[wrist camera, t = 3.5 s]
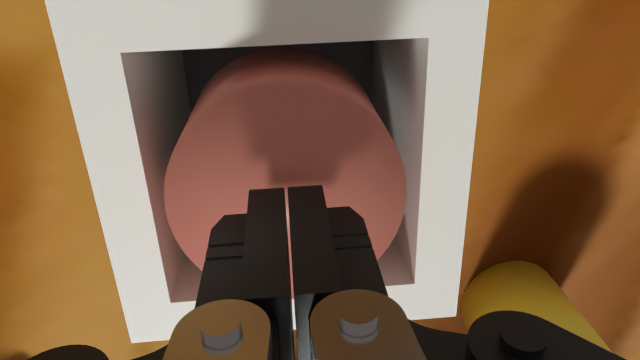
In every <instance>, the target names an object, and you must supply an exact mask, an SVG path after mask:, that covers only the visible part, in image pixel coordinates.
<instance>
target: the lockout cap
mask: <svg viewBox="0 0 640 360" xmlns="http://www.w3.org/2000/svg"><path fill="white" fill-rule="evenodd" d="M502 310H511V311H520V312H525V313H529V314H532V315H535V316H538V317H540V318H543V319H545V320H547V321H549V322H551V323H553V324H555V325H557V326H559V327H561V328H563V329H565V330H567V331H569V332H571V333H573V334H575V335H578V336H580V337H582V338H584V339H586V340H588V341H590V342H592V343H594V344H596V345H598V346H600V347H602V348H604V349H606V350H608V351H610V352H612V351H611V350H610V349H609V347H608V346H607V345H606V344H605V343H604V341H603V340H602V339H601V338H600V336H599V335H598V334H597V333H596V331H595V330H594V329H593V328H592V327H591V325H590V324H589V323H588V322H587V320H586V319H585V318H584V317H583V316H582V314H581V313H580V312H579V311H578V309H577V308H576V307H575V306H574V304H573V303H572V302H571V301H570V300H569V298H568V297H567V296H566V295H565V293H564V292H563V291H562V290H561V289H560V287H559V286H558V285H557V284H556V282H555V281H554V280H553V279H552V277H551V276H550V275H549V274H548V273H547V272H546V271H545V270H544V269H543V268H542V267H540V266H538V265H537V264H534V263H531V262H527V261H507V262H503V263H499V264H496V265H494V266H492V267H489V268H488V269H486V270H484V271H483V272H481V273H480V274H479V275H477V276H476V277H475V278H474V279H473V280H472V281H471V282H470V283H469V285H468V286H467V288H466V289H465V291H464V293H463V295H462V298H461V303H460V312H461V316H462V319H463V321H464V323H465V325H466V327H467V329H468V331H469V328H470V326H471V324H472V323H473V322H474V321H475V320H476V319H478V318H479V317H480V316H482V315H485V314H487V313H490V312H494V311H502ZM612 353H613V352H612Z"/></svg>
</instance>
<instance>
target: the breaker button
mask: <svg viewBox="0 0 640 360" xmlns="http://www.w3.org/2000/svg"><path fill="white" fill-rule="evenodd" d="M311 185H322V186H323V191H324V196H325V201H326V206H327V208H330V207H345V206H350V207H351V208H352V209H353V210H354V211H356V212H357V213H358V214H359V215H360V216H361V217H363V218H364V221H365V225H366V228H367V231H368V236H369V237H370V240H371V243H372V249H373V250H374V253H375V256H376V259H377V260H378V259H379V258H380V257H381V256H382V255H383V254H384V252H385V251H386V250H387V248H388V247H389V246H390V244H391V242H392V241H393V239H394V237H395V236H396V234H397V231H398V229H399V227H400V224H401V222H402V218H403V215H404V211H405V206H406V197H407V182H406V175H405V169H404V165H403V162H402V159H401V156H400V153H399V151H398V149H397V147H396V145H395V143H394V141H393V139H392V137H391V136H390V134H389V132H388V131H387V129H386V127H385V125H384V124H383V122H382V120H381V119H380V117H379V115H378V113H377V112H376V110H375V108H374V107H373V105H372V103H371V101H370V100H369V98H368V96H367V95H366V93H365V91H364V90H363V88H362V87H361V85H360V84H359V83H358V81H357V80H356V79H355V78H354V77H353V76H352V75H351V74H350V73H349V72H348V71H347V70H346V69H345V68H344V67H342V66H341V65H340V64H338V63H337V62H335V61H334V60H332V59H330V58H329V57H326V56H324V55H322V54H320V53H317V52H314V51H311V50H307V49H303V48H297V47H279V46H278V47H270V48H263V49H259V50H255V51H252V52H249V53H247V54H244V55H242V56H240V57H238V58H236V59H234V60H233V61H231V62H229V63H228V64H227V65H225V66H224V67H223V68H221V69H220V70H219V71H218V72H217V73H216V74H215V75H214V76H213V77H212V78H211V79H210V80H209V82H208V83H207V84H206V86H205V87H204V89H203V90H202V92H201V94H200V96H199V98H198V100H197V102H196V104H195V106H194V108H193V110H192V112H191V114H190V116H189V118H188V121H187V123H186V125H185V127H184V129H183V131H182V133H181V135H180V137H179V139H178V142H177V144H176V146H175V148H174V150H173V152H172V155H171V157H170V160H169V163H168V166H167V170H166V175H165V180H164V204H165V212H166V215H167V219H168V223H169V226H170V228H171V230H172V233H173V235H174V237H175V239H176V241H177V242H178V244H179V246H180V247H181V249H182V250H183V252H184V253H185V254H186V255H187V257H188V258H189V259H190V260H191V261H192V262H193V263H194V264H195V265H196V266H197V267H198V268H199V269H200V270H201V271H202V270H203V266H204V262H205V256H206V251H207V248H208V242H209V237H210V232H211V229H212V228H213V227H214V226H215V225H216V223H217V222H218V221H219V220H220V219H221V218H222V217H223V216H224V215H231V214H245V213H247V206H248V196H249V190H252V189H267V188H282V187H284V190H285V203H286V217H287V231H288V245H289V260H290V276H291V295H292V299H294V292H293V274H292V257H291V240H290V223H289V206H288V189H287V187H295V186H311Z"/></svg>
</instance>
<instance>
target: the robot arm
mask: <svg viewBox="0 0 640 360" xmlns="http://www.w3.org/2000/svg"><path fill="white" fill-rule="evenodd" d="M287 189H288V206H289V223H290V240H291V257H292V274H293V292H294V307H295V321H296V336H297V350H298V360H626V359H624V358H622V357H620V356H618V355H616V354H614V353H612V352H610V351H608V350H606V349H604V348H602V347H600V346H598V345H596V344H594V343H592V342H590V341H588V340H586V339H584V338H582V337H580V336H578V335H575V334H573V333H571V332H569V331H567V330H565V329H563V328H561V327H559V326H557V325H555V324H553V323H551V322H549V321H547V320H545V319H543V318H540V317H538V316H535V315H532V314H529V313H525V312H520V311H511V310H502V311H494V312H490V313H487V314H485V315H482V316H480V317H479V318H478V319H476V320H475V321H474V322H473V323H472V324H471V326H470V328H469V331H468V335H466V334H460V333H454V332H447V331H441V330H436V329H431V328H427V327H424V326H421V325H419V324H417V323H414V322H412V321H411V320H409V319H407V316H406V314H405V312H404V311H403V309H402V308H401V307H400V305H399V304H398V303H397V302H395V301H394V300H393V299H391V298H390V297H389V296H388V293H387V290H386V287H385V284H384V281H383V278H382V275H381V271H380V268H379V265H378V262H377V259H376V256H375V253H374V250H373V249H372V243H371V240H370V237H369V236H368V231H367V228H366V225H365V221H364V218H363V217H361V216H360V215H359V214H358V213H357V212H356V211H354V210H353V209H352V208H351V207H350V206H345V207H330V208H327V206H326V201H325V196H324V191H323V186H322V185H311V186H295V187H287ZM28 360H109V359H108V358H107V356H106V355H105V354H104V353H103V352H102V351H101V350H99V349H97V348H95V347H91V346H87V345H67V346H61V347H57V348H54V349H50V350H47V351H45V352H42V353H40V354H38V355H36V356H34V357H31V358H30V359H28ZM132 360H295V352H294V333H293V314H292V295H291V276H290V260H289V245H288V231H287V217H286V203H285V190H284V187H282V188H267V189H252V190H249V196H248V206H247V213H245V214H231V215H224V216H223V217H222V218H221V219H220V220H219V221H218V222H217V223H216V225H215V226H214V227H213V228H212V229H211V232H210V237H209V242H208V248H207V251H206V256H205V262H204V266H203V270H202V275H201V280H200V285H199V290H198V294H197V299H196V304H195V309H193V310H192V311H190V312H189V313H187V314H186V315H185V316H184V317H183V318H182V319H181V320H180V321H179V322H178V323H177V325H176V326H175V328H174V330H173V332H172V335H171V337H170V340H169V343H168V345H166V346H164V347H163V348H161V349H159V350H157V351H155V352H153V353H150V354H147V355H145V356H142V357H139V358H135V359H132Z"/></svg>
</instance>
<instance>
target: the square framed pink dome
mask: <svg viewBox="0 0 640 360" xmlns="http://www.w3.org/2000/svg"><path fill="white" fill-rule="evenodd" d="M45 4H46V8H47V12H48V16H49V20H50V24H51V28H52V32H53V36H54V39H55V43H56V47H57V51H58V55H59V59H60V63H61V67H62V71H63V75H64V79H65V83H66V87H67V91H68V95H69V99H70V103H71V107H72V111H73V114H74V118H75V122H76V126H77V130H78V134H79V138H80V142H81V146H82V150H83V154H84V158H85V162H86V166H87V170H88V174H89V178H90V182H91V185H92V189H93V193H94V197H95V201H96V205H97V209H98V213H99V217H100V221H101V225H102V229H103V233H104V237H105V241H106V245H107V249H108V253H109V256H110V260H111V264H112V268H113V272H114V276H115V280H116V284H117V288H118V292H119V296H120V300H121V304H122V308H123V312H124V316H125V320H126V324H127V328H128V331H129V335H130V339H131V343H137V342H149V341H162V340H170V337H171V335H172V332H173V330H174V328H175V326H176V325H177V323H178V322H179V321H180V320H181V319H182V318H183V317H184V316H185V315H186V314H187V313H189V312H190V311H192V310H193V309H195V304H196V299H197V294H198V290H199V285H200V280H201V275H202V271H201V270H200V269H199V268H198V267H197V266H196V265H195V264H194V263H193V262H192V261H191V260H190V259H189V258H188V257H187V255H186V254H185V253H184V252H183V250H182V249H181V247H180V246H179V244H178V242H177V241H176V239H175V237H174V235H173V233H172V230H171V228H170V226H169V223H168V219H167V215H166V212H165V204H164V180H165V175H166V170H167V166H168V163H169V160H170V157H171V155H172V152H173V150H174V148H175V146H176V144H177V142H178V139H179V137H180V135H181V133H182V131H183V129H184V127H185V125H186V123H187V121H188V118H189V116H190V114H191V112H192V110H193V108H194V106H195V104H196V102H197V100H198V98H199V96H200V94H201V92H202V90H203V89H204V87H205V86H206V84H207V83H208V82H209V80H210V79H211V78H212V77H213V76H214V75H215V74H216V73H217V72H218V71H219V70H220V69H221V68H223V67H224V66H225V65H227V64H228V63H229V62H231V61H233V60H234V59H236V58H238V57H240V56H242V55H244V54H247V53H249V52H252V51H255V50H259V49H263V48H270V47H278V46H279V47H297V48H303V49H307V50H311V51H314V52H317V53H320V54H322V55H324V56H326V57H329V58H330V59H332V60H334V61H335V62H337V63H338V64H340V65H341V66H342V67H344V68H345V69H346V70H347V71H348V72H349V73H350V74H351V75H352V76H353V77H354V78H355V79H356V80H357V81H358V83H359V84H360V85H361V87H362V88H363V90H364V91H365V93H366V95H367V96H368V98H369V100H370V101H371V103H372V105H373V107H374V108H375V110H376V112H377V113H378V115H379V117H380V119H381V120H382V122H383V124H384V125H385V127H386V129H387V131H388V132H389V134H390V136H391V137H392V139H393V141H394V143H395V145H396V147H397V149H398V151H399V153H400V156H401V159H402V162H403V165H404V169H405V175H406V182H407V197H406V206H405V211H404V215H403V218H402V222H401V224H400V227H399V229H398V231H397V234H396V236H395V237H394V239H393V241H392V242H391V244H390V246H389V247H388V248H387V250H386V251H385V252H384V254H383V255H382V256H381V257H380V258H379V259H378V260H377V262H378V265H379V268H380V271H381V275H382V278H383V281H384V284H385V287H386V290H387V293H388V296H389V297H390V298H391V299H393V300H394V301H395V302H397V303H398V304H399V305H400V307H401V308H402V309H403V311H404V312H405V314H406V316H407V319H409V320H418V319H430V318H442V317H454V316H456V312H457V302H458V293H459V283H460V274H461V264H462V254H463V245H464V235H465V226H466V216H467V207H468V197H469V188H470V178H471V168H472V159H473V149H474V140H475V130H476V121H477V111H478V102H479V92H480V82H481V73H482V63H483V54H484V44H485V35H486V25H487V16H488V6H489V0H45ZM292 314H293V330H296V321H295V307H294V299H292Z"/></svg>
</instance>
